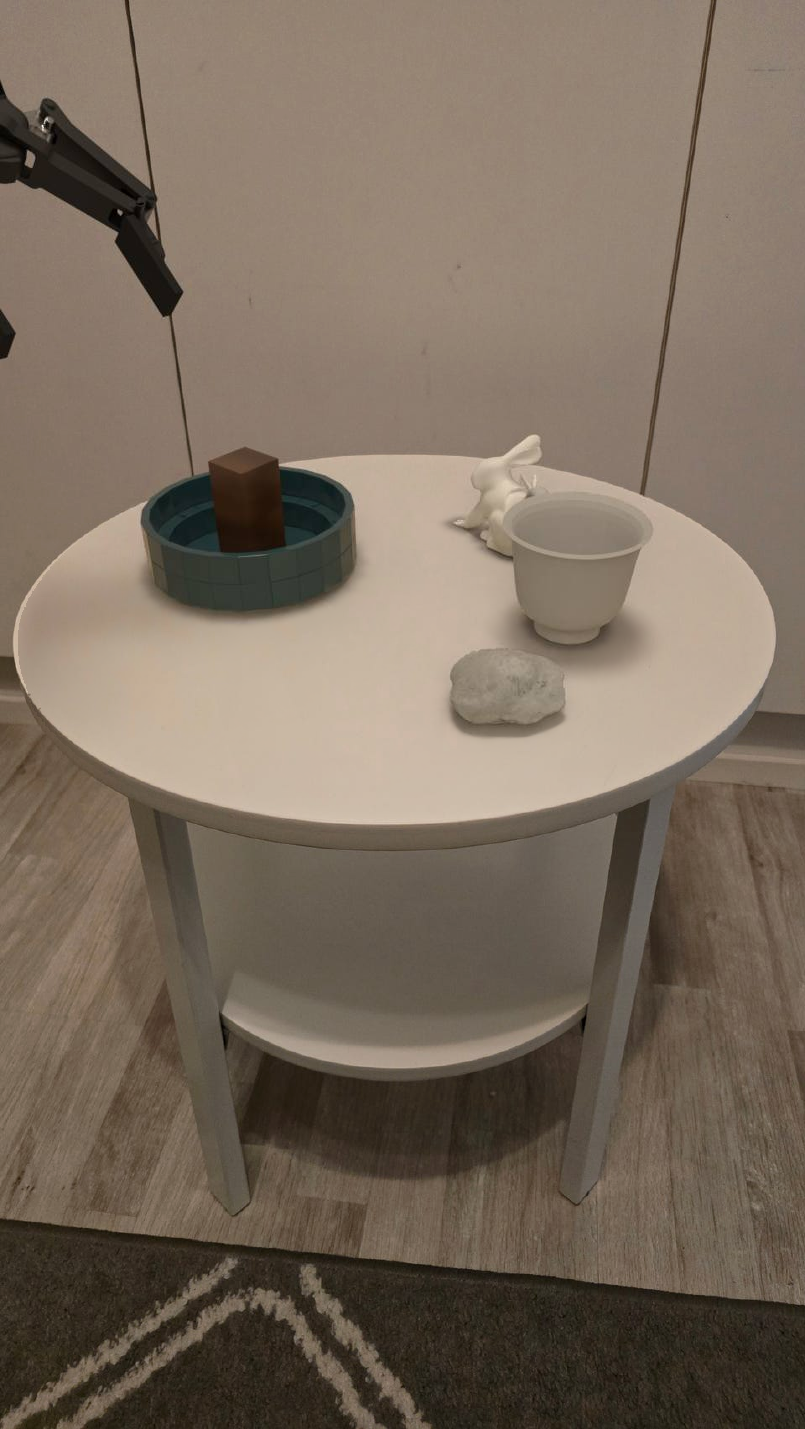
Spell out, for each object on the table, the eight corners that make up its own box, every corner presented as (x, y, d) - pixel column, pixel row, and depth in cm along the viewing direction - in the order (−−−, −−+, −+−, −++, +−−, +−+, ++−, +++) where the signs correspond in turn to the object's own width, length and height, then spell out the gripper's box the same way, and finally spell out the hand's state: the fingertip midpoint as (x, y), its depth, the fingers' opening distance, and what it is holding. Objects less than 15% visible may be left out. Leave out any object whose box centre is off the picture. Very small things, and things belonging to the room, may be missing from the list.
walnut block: (252, 574, 92) (241, 474, 86) (220, 560, 95) (207, 461, 89) (287, 557, 95) (278, 458, 89) (255, 543, 97) (245, 446, 91)
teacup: (583, 570, 94) (594, 470, 88) (663, 650, 82) (682, 542, 76) (464, 590, 91) (467, 488, 85) (531, 677, 79) (540, 566, 73)
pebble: (503, 666, 81) (506, 613, 78) (580, 708, 76) (587, 654, 73) (427, 708, 76) (427, 654, 73) (504, 757, 71) (508, 701, 68)
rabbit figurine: (451, 523, 102) (452, 432, 96) (512, 507, 105) (517, 418, 99) (515, 571, 93) (522, 475, 88) (580, 553, 96) (590, 459, 90)
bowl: (146, 626, 86) (135, 565, 82) (155, 528, 102) (145, 473, 98) (368, 606, 88) (366, 546, 85) (344, 513, 104) (341, 459, 100)
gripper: (65, 89, 77) (213, 320, 78) (-274, 115, 62) (-85, 401, 63) (92, 6, 71) (252, 257, 72) (-276, 13, 56) (-68, 330, 57)
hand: (95, 325), depth 68 cm, fingers open, 13 cm apart
